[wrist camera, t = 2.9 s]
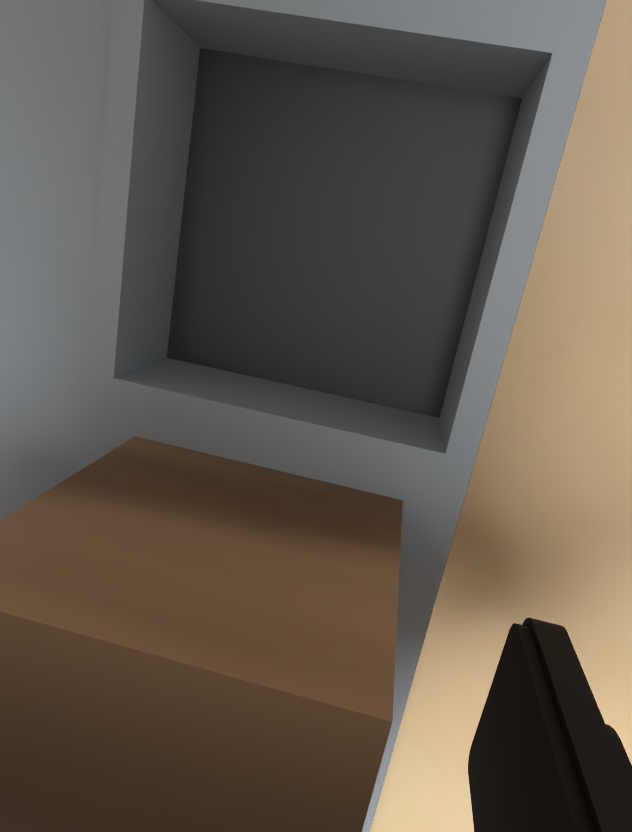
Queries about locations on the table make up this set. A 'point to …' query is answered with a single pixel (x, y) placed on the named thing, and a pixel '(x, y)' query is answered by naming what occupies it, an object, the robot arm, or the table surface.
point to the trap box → (277, 240)
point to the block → (195, 648)
